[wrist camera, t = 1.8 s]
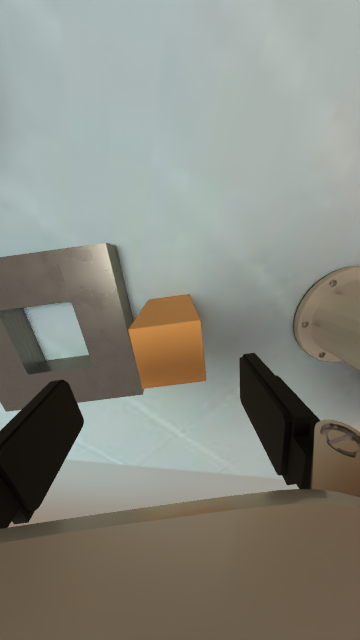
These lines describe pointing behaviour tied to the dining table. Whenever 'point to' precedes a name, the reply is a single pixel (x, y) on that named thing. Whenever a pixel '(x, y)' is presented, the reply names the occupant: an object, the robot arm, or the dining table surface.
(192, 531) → the robot arm
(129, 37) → the dining table surface
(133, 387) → the grey square frame
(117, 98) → the dining table surface
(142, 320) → the orange rectangular block
